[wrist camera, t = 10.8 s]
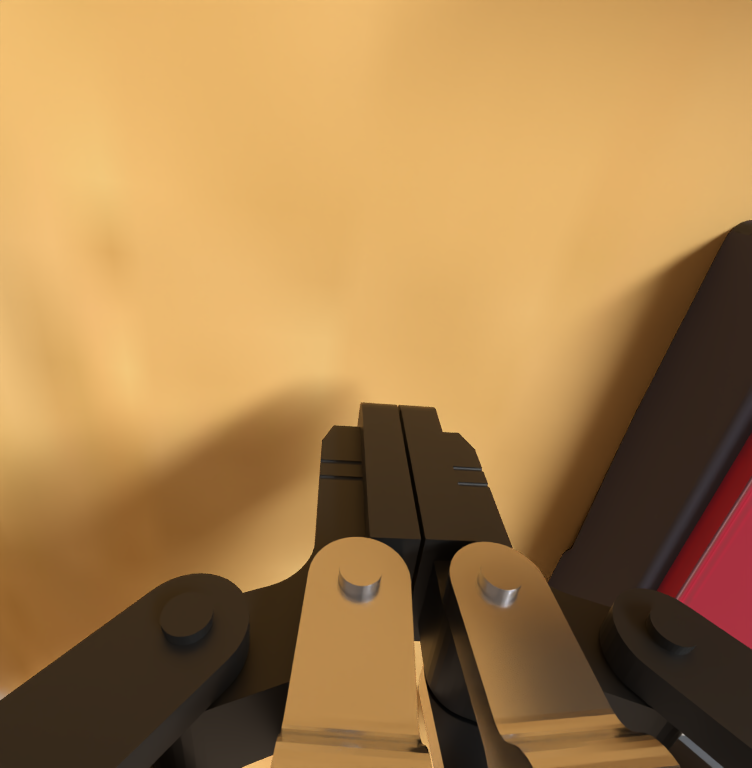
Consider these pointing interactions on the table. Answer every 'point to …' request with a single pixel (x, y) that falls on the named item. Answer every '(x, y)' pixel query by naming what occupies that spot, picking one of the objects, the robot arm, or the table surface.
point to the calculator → (684, 467)
